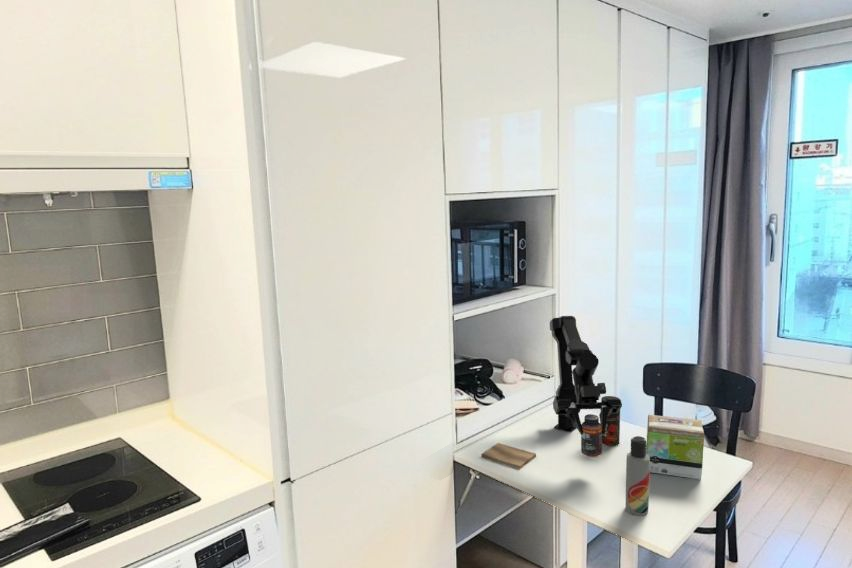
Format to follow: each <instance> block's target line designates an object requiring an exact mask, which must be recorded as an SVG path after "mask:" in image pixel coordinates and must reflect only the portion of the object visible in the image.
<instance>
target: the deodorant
mask: <svg viewBox="0 0 852 568" xmlns="http://www.w3.org/2000/svg"><path fill="white" fill-rule="evenodd" d="M607 398H619V397H617V396H612V395H605V396H602V397H600V401H601V402H605V401H606V399H607ZM620 430H621V409H620V410H619V412H618V413H611V414H610V415H609V416H607V420H606V427H605V433H604V434H602V445H603V444H604V446H606V445H607V446H606V447H617V446H619V445H620V438H621V437H620V434H621V431H620ZM618 444H619V445H618ZM616 445H617V446H616Z"/></svg>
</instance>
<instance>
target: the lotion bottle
mask: <svg viewBox="0 0 852 568" xmlns="http://www.w3.org/2000/svg"><path fill="white" fill-rule="evenodd" d="M646 446H647V438H645V437H643V436H639V435H637V436H633V437H631V438H630V452H628V453H626V459H625V460H626V466H625V467H626V468H625V471H626V472H625V510H626V511H627V512H628V513H630V514H631V515H635V516H645V515H647V514H648V513H649V505H650V503H649V502H650V473H651V472H650V457H649V455H647V454H646Z"/></svg>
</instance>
